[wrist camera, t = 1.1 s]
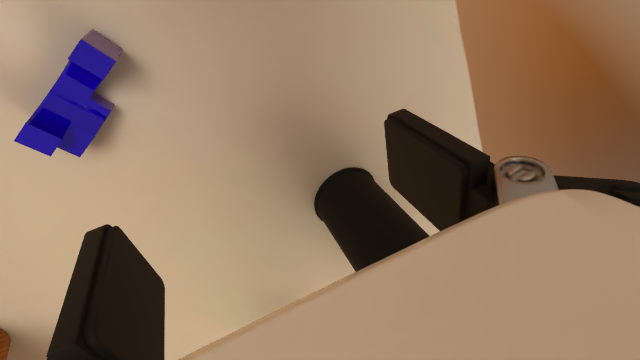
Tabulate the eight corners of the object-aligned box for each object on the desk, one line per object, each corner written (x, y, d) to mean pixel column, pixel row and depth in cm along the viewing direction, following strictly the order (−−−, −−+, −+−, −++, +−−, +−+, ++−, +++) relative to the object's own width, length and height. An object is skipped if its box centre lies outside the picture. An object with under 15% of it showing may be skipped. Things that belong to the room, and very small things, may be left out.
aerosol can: (303, 190, 36) (407, 353, 21) (365, 154, 37) (509, 286, 22) (327, 233, 42) (424, 390, 26) (380, 201, 42) (506, 335, 27)
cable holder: (86, 143, 26) (75, 166, 23) (33, 118, 24) (13, 140, 20) (142, 63, 24) (139, 76, 21) (92, 29, 22) (81, 38, 19)
